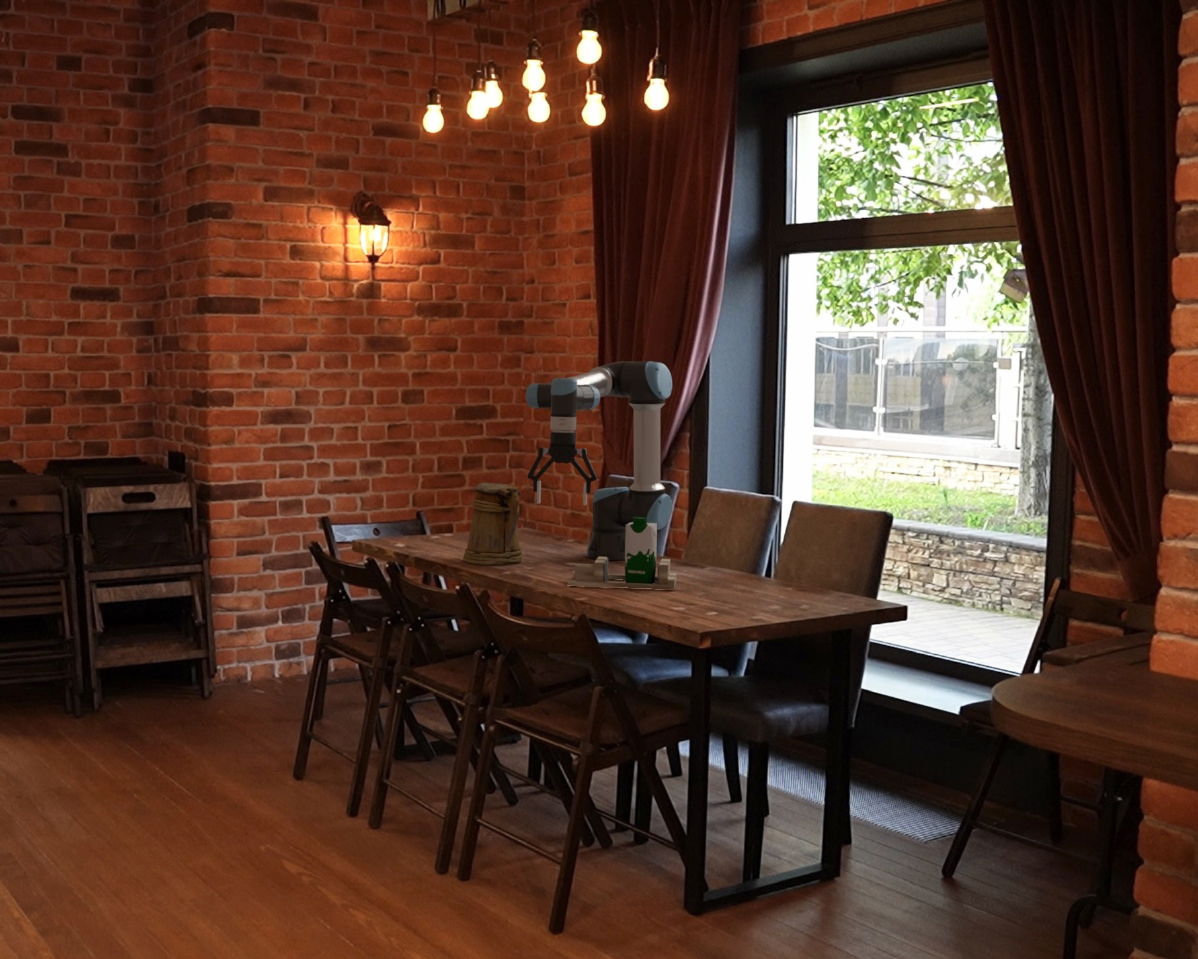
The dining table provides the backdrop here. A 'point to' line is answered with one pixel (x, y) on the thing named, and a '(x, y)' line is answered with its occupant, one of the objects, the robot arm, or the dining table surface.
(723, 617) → the dining table surface
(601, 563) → the sliding jaw
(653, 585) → the vise bed
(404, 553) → the dining table surface
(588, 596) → the dining table surface
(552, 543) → the dining table surface
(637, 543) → the soya milk
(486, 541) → the tankard
